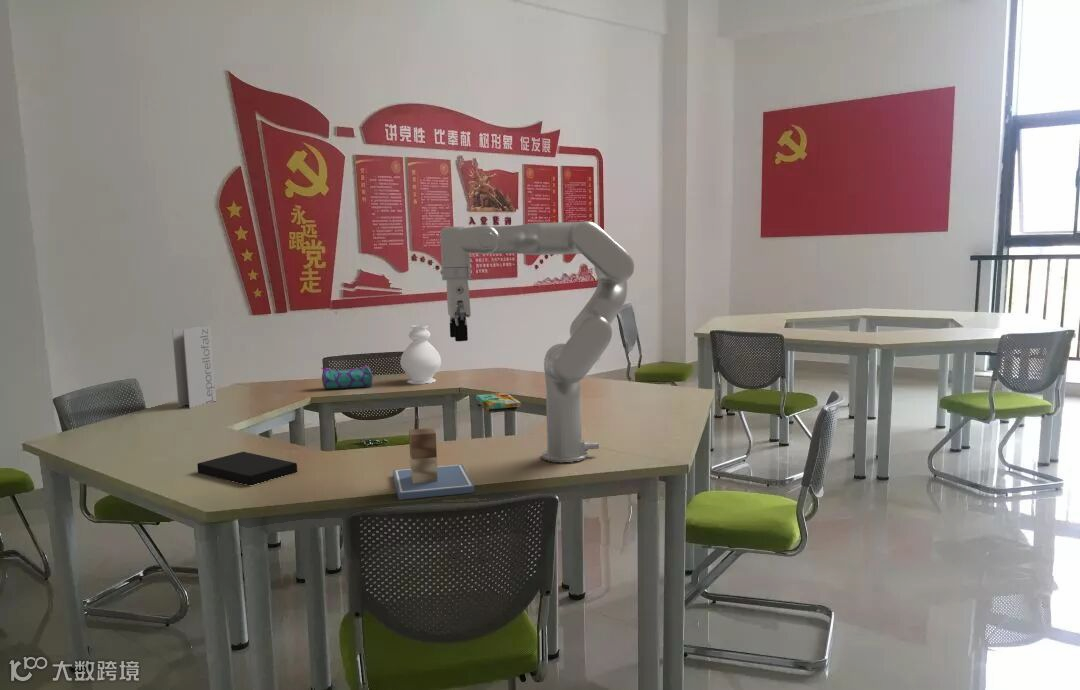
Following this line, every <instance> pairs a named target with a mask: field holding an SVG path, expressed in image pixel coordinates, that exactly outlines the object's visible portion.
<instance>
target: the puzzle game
mask: <svg viewBox="0 0 1080 690" xmlns="http://www.w3.org/2000/svg"><path fill="white" fill-rule="evenodd" d="M475 400H476V402H477V403H478V404H479V405H480V407H482V408H484V409H485V410H486V411H487V412H489V414H491V413H502V412H503V413H504V412H514V411H516V410H517V409H518V408H520V407H522V402H521V401H519V400H518V399H516V398H515V397H514V396H512V395H510V394H509V393H508V392H497V393H496V392H495V393H485V394H476V395H475Z"/></svg>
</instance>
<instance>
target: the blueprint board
mask: <svg viewBox="0 0 1080 690" xmlns="http://www.w3.org/2000/svg"><path fill="white" fill-rule="evenodd" d="M392 475H393V480H394V485H396V486H395V489H396V493H397V494H396V495H397V499H398V501H399V500H402V501H403V500H410V499H422V498H431V497H442V496H443V497H444V496H452V495H461V494H473V493H475V485H474V483H473V481H472V479H471V477H470V476H469V474H468V472H467V471H466V468H465V467H464V465H463V463H461V464H450V465H449V464H448V465H439V466H438V465H437V479H438V481H433V482H423V483H413V482H412V478H411V468H405V469H395V470H394V469H393V470H392Z"/></svg>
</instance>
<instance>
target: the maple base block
mask: <svg viewBox="0 0 1080 690" xmlns="http://www.w3.org/2000/svg"><path fill="white" fill-rule="evenodd" d="M437 460H438V457H434V458H422V459H412V458H411V455H410V454H409V463H410V469H411V478H412V482H413V483H423V482H433V481H438V479H437V466H438V461H437Z"/></svg>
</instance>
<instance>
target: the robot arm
mask: <svg viewBox="0 0 1080 690" xmlns="http://www.w3.org/2000/svg"><path fill="white" fill-rule="evenodd" d="M440 252H441V253H440V257H441V260H440V261H441V277H442V278H441V279H442V281H446V301H447V303H446V304H447V313H448V316H449V337H450V338H454V341H455V342H467V341H468V340H469V337H468V333H469V332H468V323H467V318H470V317H471V315H472V314H471V301H470V298H471V297H470V288H469V281H468V280H472V273H471V271H472V270H471V254H479V255H493V254H494V255H498V254H503V255H505V254H518V255H519V254H520V255H528V256H529V255H530V256H531V255H532V256H541V255H542V256H543V255H544V256H545V255H548V256H549V255H582V256H583V257H584V258H585V259H586V260H588V262H590V263H591V264H592V265H593V266H594V267H593V268H594V272H595V274H596V278H597V279H596V280H597V286H596V289H595V291H594V292H593V294H592V296H591V297H590V299H589V300H588V301H587V303H586V304H585V305H584V307H583V308H582V309H581V311H580V312H579V313H578V314H577V316H576V317H575V318H574V319H573V321H572V322H571V325H570V327H569V334H570V337H569V338H568V340H567V341H566V342H565V343H557V344H554V345H552V346H551V347H550V348H549V349H548V350H547V351H546V352H545V356H544V360H543V367H544V368H543V369H544V370H543V371H544V379H545V380H544V381H545V392H546V393H545V396H546V397H545V398H546V399H545V400H546V403H545V404H546V440H547V441H546V443H547V444H546V447H547V449H546V450H544V451H542V453H541V458H542V459H543V460H544V461H546V460H547V462H550V461H551V463H557V462H560V463H559V464H562V463H561V462H571V463H574V462H573V461H578V460H582V459H584V460H586V459H587V458H588V450H599V449H600V448H599V446H600V445H599V442H598V441H595V442H594V441H593V442H592V441H585V440H584V439H583V438H582V389H581V380H583V379H584V378H585V376H587V375H588V373H589V372H590V371H591V369H592V368H593V367H594V366H595V364H596V363H597V361H598V360H599V359H600V358H601V356H602V355H603V354H604V352H605V351H606V350H607V348H608V346H609V345H610V343H611V340H612V336H613V328H612V325H611V324H612V323H613V321H614V320H615V318H616V317H617V316H618V314H619V313H620V311H621V309H622V308H623V306H624V304H625V302H626V299H627V296H628V295H627V294H628V280H629V279H630V278H631V277H632V276H633V274H634V270H635V263H634V259H633V258H632V256H631V255H630V253H629V252H628V251H627V250H625V248H623V247H622V246H621V245H620V244H619V243H618V242H617V241H615V240H614V239H613V238H612V237H611V235H609V234H608V233H607V232H606V231H605V230H604V229H602V228H601V226H599V224H597V223H595V222H593V221H588V220H586V221H585V220H584V221H574V222H573V221H569V222H567V221H566V222H565V221H563V222H531V223H525V224H524V223H523V224H521V225H519V224H518V225H501V226H500V225H499V226H498V225H497V226H495V225H494V226H492V225H491V226H490V225H486V224H485V225H479V226H478V225H477V226H472V227H464V226H446V227H443V228H442V229H441V230H440ZM586 457H587V458H586ZM585 458H586V459H585ZM582 461H583V460H582ZM578 462H579V461H578Z"/></svg>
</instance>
